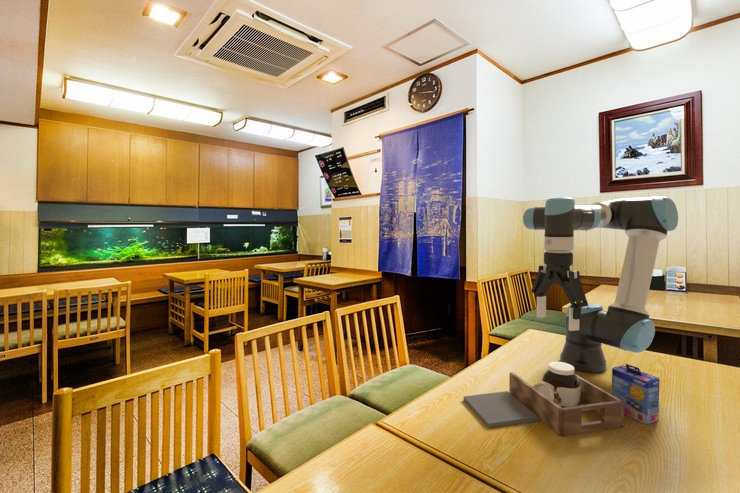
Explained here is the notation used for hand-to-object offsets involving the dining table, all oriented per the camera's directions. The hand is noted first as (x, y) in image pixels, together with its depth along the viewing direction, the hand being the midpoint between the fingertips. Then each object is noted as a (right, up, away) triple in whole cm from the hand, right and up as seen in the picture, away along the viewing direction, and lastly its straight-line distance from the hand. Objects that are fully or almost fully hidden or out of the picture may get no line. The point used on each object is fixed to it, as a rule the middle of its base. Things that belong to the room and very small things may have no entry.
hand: (556, 323), depth 104 cm
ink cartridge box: (+20, -25, -4) cm, 32 cm away
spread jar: (+1, -25, +2) cm, 25 cm away
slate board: (-17, -25, 0) cm, 31 cm away
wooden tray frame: (+1, -25, 0) cm, 25 cm away
